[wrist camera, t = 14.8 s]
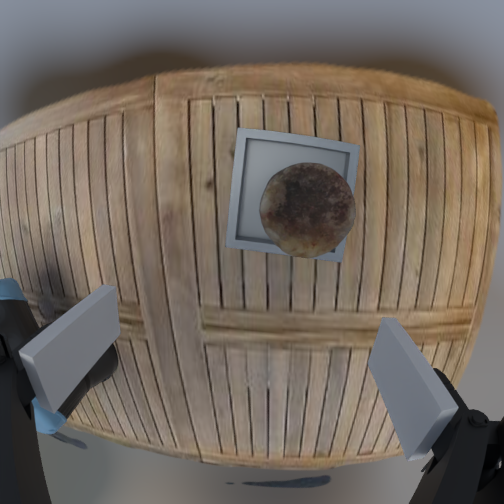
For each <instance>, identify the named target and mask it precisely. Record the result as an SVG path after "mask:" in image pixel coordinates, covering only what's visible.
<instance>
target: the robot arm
mask: <svg viewBox="0 0 504 504" xmlns="http://www.w3.org/2000/svg"><path fill="white" fill-rule="evenodd" d="M27 302H28V301H27V299H26V298H25V297H24V295H23V293H22V290H21V288H20V286H19V284H18V282H17V281H16V280H14V279H12V278H5V279H1V280H0V504H52V503H51V500H50V496H49V493H48V488H47V485H46V480H45V476H44V472H43V467H42V462H41V457H40V451H39V445H38V439H37V431H39V432H41V433H45V434H53V433H55V432H56V431H57V430H58V429H59V428H60V427H61V426H62V425H63V424H64V423H66V421H67V419H68V417H69V416H70V415H71V413H72V412H73V411H74V409H75V408H76V406H77V405H78V404H79V402H80V401H81V400H82V398H83V397H84V396H85V394H86V393H87V392H88V391H89V389H91V388H92V387H94V386H96V385H97V384H99V383H100V382H104V381H106V380H107V379H109V378H110V377H111V375H112V374H113V373H114V371H115V370H116V368H117V364H118V359H117V354H116V350H115V348H114V346H113V344H112V343H113V342H114V341H115V340H116V338H117V337H118V336H119V335H120V334H121V332H120V324H119V315H118V306H117V295H116V287H115V286H110V285H104V284H103V285H102V286H100V287H99V288H98V289H96V290H95V291H94V292H92V293H91V294H90V295H88V296H87V297H86V298H84V299H83V300H82V301H80V302H79V303H78V304H76V305H75V306H74V307H72V308H71V309H70V310H69V311H67V312H66V313H65V314H63V315H62V316H61V317H60V318H58V319H57V320H56V321H55V322H52V323H49V324H47V325H44V326H42V327H41V328H39V326H38V324H37V322H36V320H35V318H34V316H33V314H32V312H31V309H30V307H29V305H28V303H27ZM368 366H369V368H370V370H371V372H372V375H373V377H374V379H375V382H376V384H377V386H378V389H379V391H380V393H381V396H382V398H383V401H384V403H385V405H386V408H387V410H388V413H389V415H390V418H391V420H392V423H393V425H394V428H395V430H396V433H397V435H398V438H399V441H400V443H401V446H402V449H403V451H404V454H405V457H406V459H407V461H411V460H416V459H421V458H424V457H425V456H426V454H427V453H428V452H429V450H430V449H432V451H433V453H434V456H433V457H432V458H431V459H430V461H429V462H428V463H427V464H426V465H425V467H424V468H423V469H422V470H421V472H424V470H425V469H426V470H425V473H424V475H423V477H422V479H421V481H420V483H419V485H418V487H417V489H416V491H415V493H414V495H413V497H412V499H411V500H410V502H409V504H504V417H503V418H502V420H501V421H489V419H488V417H487V416H486V415H485V414H484V413H482V412H480V411H478V410H474V409H472V410H469V409H468V407H467V406H466V404H465V403H464V401H463V400H462V398H461V397H460V396H459V394H458V392H457V391H456V390H454V387H453V385H452V384H450V381H449V380H448V378H447V377H446V375H445V374H444V373H442V372H441V371H440V370H438V369H437V368H432V367H431V365H430V364H429V363H428V361H427V360H426V358H425V357H424V356H423V354H422V353H421V351H420V350H419V349H418V347H417V346H416V344H415V343H414V342H413V340H412V339H411V338H410V336H409V335H408V334H407V332H406V331H405V330H404V328H403V327H402V326H401V324H400V323H399V322H398V320H397V319H396V318H383V317H382V320H381V324H380V327H379V330H378V333H377V337H376V340H375V343H374V346H373V349H372V352H371V355H370V358H369V361H368ZM36 430H37V431H36ZM500 461H502V462H501V468H499V462H500Z"/></svg>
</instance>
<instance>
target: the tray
mask: <svg viewBox="0 0 504 504" xmlns="http://www.w3.org/2000/svg"><path fill="white" fill-rule="evenodd" d="M359 150H360V145H355V144H350V143H345V142H340V141H335V140H329V139H323V138H317V137H311V136H305V135H298V134H291V133H283V132H275V131H266V130H257V129H247V128H238V131H237V140H236V148H235V157H234V166H233V175H232V184H231V194H230V204H229V213H228V224H227V234H226V245H225V247H229V248H237V249H244V250H252V251H259V252H267V253H274V254H282V255H288V254H286V253H285V252H283V251H281V249H280V248H279V247H278V246H276V245H275V243H274V242H273V241H272V240H271V239H270V238H269V236H268V235H267V234H266V233H265V231H264V228H263V226H262V223H261V218H260V213H259V209H260V202H261V198H262V195H263V192H264V190H265V188H266V186H267V183H268V182H269V180H270V178H271V177H272V176H273V175H275V174H276V173H277V172H279V171H281V170H283V169H284V168H286V167H289V166H291V165H294V164H297V163H306V162H311V163H320V164H323V165H325V166H328V167H330V168H332V169H334V170H335V171H336V172H337V173H339V174H340V175H341V176H342V177H343V178H344V179H345V181H346V182H347V183H348V185H349V186H350V188H351V191H352V194H353V195H354V189H355V182H356V174H357V167H358V158H359ZM346 237H347V236H346ZM346 237H345V238H344V239H343V240H342V242H340V243H339V245H338V246H337V247H336V248H334V249H333V250H331V251H330V252H328V253H326V254H323V255H320V256H318V257H314V258H312V259H319V260H327V261H334V262H342V258H343V253H344V248H345V243H346ZM289 256H291V255H289Z"/></svg>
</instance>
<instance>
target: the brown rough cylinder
mask: <svg viewBox="0 0 504 504" xmlns="http://www.w3.org/2000/svg"><path fill="white" fill-rule="evenodd" d="M259 213H260V218H261V223H262V226H263V228H264V231H265V233H266V234H267V235H268V236H269V238H270V239H271V240H272V241H273V242H274V243H275V245H276V246H278V247H279V248H280V249H281V251H283V252H285V253H286V254H288V255H291V256H294V257H302V258H314V257H318V256H320V255H323V254H326V253H328V252H330V251H331V250H333V249H334V248H336V247H337V246H338V245H339V243H340V242H342V240H343V239H344V238H345V237H346V236H347V234H348V233H349V231H350V230H351V228H352V226H353V224H354V219H355V215H356V209H355V201H354V197H353V194H352V191H351V188H350V186H349V185H348V183H347V182H346V181H345V179H344V178H343V177H342V176H341V175H340V174H339V173H337V172H336V171H335V170H334V169H332V168H330V167H328V166H325V165H323V164H320V163H311V162H306V163H297V164H294V165H291V166H289V167H286V168H284V169H283V170H281V171H279V172H277V173H276V174H275V175H273V176H272V177H271V178H270V180H269V182H268V183H267V186H266V188H265V190H264V192H263V195H262V198H261V202H260V209H259Z"/></svg>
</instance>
